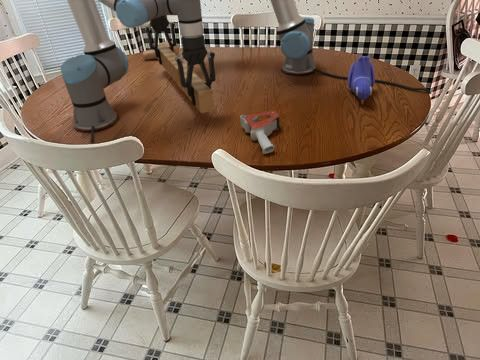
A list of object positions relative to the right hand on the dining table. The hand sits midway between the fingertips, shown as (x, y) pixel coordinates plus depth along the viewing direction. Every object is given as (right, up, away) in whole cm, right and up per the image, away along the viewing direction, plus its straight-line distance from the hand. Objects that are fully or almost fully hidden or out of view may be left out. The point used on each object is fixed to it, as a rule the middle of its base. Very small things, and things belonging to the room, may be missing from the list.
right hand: (166, 62), depth 168 cm
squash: (-7, +10, +25) cm, 28 cm away
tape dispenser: (+42, -41, -50) cm, 77 cm away
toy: (+82, -23, -29) cm, 90 cm away
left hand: (+21, -27, -39) cm, 52 cm away
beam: (+10, -14, -19) cm, 26 cm away
